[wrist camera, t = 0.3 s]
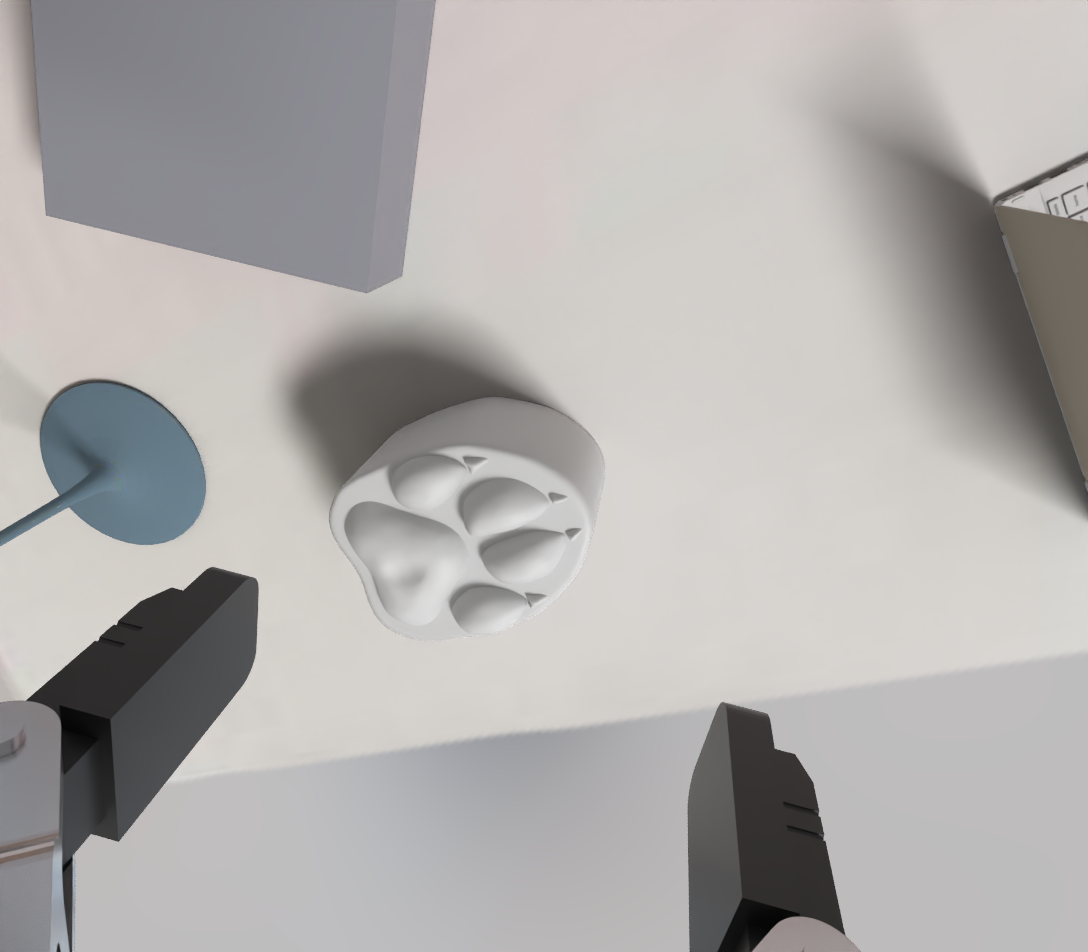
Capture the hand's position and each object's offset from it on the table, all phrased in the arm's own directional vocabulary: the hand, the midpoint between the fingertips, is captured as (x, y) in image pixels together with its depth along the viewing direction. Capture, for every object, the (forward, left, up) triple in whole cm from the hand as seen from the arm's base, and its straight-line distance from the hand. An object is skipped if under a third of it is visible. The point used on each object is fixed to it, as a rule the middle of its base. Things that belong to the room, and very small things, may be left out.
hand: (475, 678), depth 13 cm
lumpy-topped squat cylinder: (+11, -4, -29) cm, 31 cm away
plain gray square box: (-8, -19, -29) cm, 36 cm away
